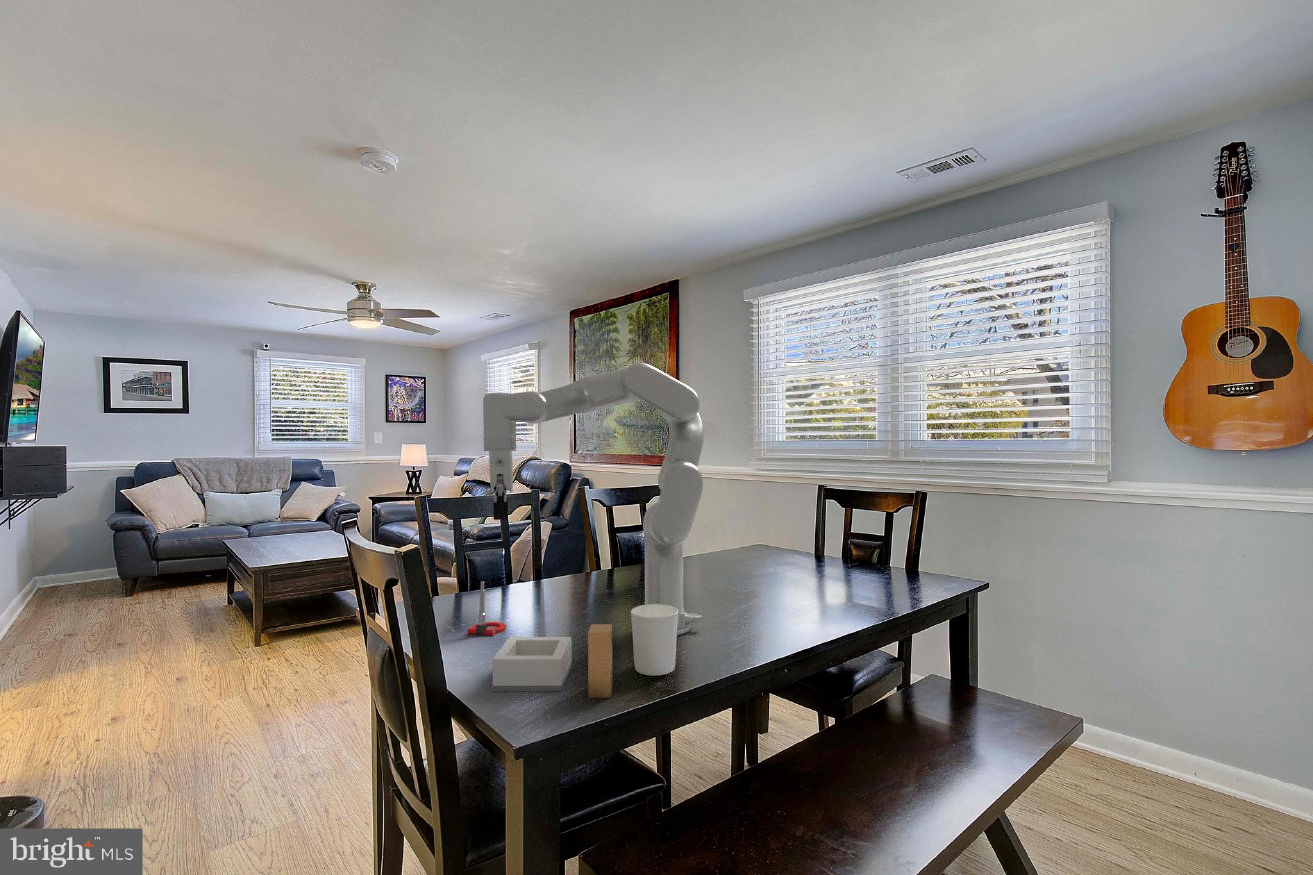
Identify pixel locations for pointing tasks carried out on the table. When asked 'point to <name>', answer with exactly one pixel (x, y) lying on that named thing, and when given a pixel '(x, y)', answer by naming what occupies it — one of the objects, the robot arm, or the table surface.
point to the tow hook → (482, 625)
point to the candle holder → (654, 638)
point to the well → (532, 664)
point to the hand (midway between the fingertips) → (500, 516)
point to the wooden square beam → (600, 661)
